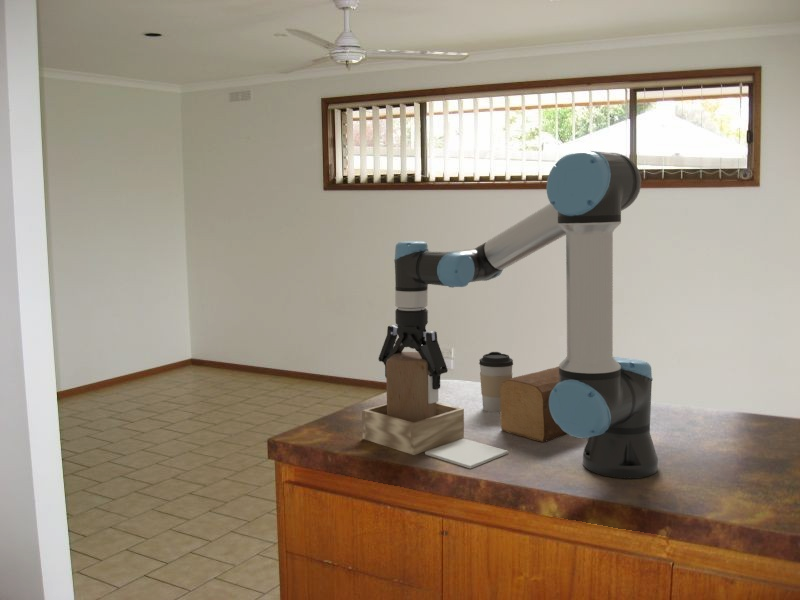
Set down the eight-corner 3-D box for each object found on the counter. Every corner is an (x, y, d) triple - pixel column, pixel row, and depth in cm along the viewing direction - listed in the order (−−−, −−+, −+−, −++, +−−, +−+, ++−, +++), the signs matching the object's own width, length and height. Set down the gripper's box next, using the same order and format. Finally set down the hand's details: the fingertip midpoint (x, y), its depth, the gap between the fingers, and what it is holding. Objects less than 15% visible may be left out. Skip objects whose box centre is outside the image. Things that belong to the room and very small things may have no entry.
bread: (624, 415, 197) (626, 361, 195) (543, 444, 175) (544, 384, 173) (579, 404, 208) (580, 353, 206) (497, 431, 185) (497, 374, 183)
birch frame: (463, 437, 180) (463, 408, 179) (414, 455, 168) (413, 424, 167) (412, 423, 192) (412, 396, 191) (362, 438, 180) (362, 410, 179)
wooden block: (428, 446, 174) (427, 360, 171) (386, 443, 177) (384, 359, 174) (437, 433, 184) (436, 352, 181) (397, 430, 186) (396, 350, 184)
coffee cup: (515, 413, 199) (515, 357, 197) (480, 413, 199) (480, 358, 197) (510, 404, 208) (510, 350, 206) (477, 404, 208) (477, 351, 206)
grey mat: (508, 453, 168) (508, 450, 168) (470, 468, 159) (470, 465, 159) (463, 440, 178) (463, 438, 177) (425, 454, 168) (425, 451, 168)
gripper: (463, 311, 170) (462, 403, 173) (385, 301, 187) (386, 384, 190) (440, 315, 165) (440, 410, 168) (363, 304, 182) (364, 390, 185)
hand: (412, 397), depth 179 cm, fingers closed on wooden block, 13 cm apart
